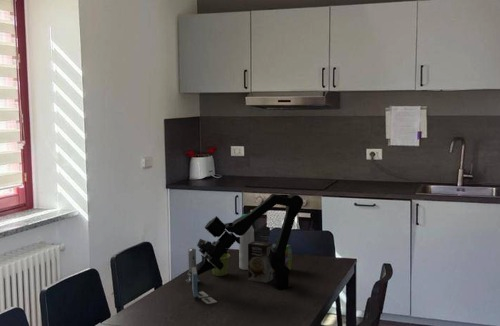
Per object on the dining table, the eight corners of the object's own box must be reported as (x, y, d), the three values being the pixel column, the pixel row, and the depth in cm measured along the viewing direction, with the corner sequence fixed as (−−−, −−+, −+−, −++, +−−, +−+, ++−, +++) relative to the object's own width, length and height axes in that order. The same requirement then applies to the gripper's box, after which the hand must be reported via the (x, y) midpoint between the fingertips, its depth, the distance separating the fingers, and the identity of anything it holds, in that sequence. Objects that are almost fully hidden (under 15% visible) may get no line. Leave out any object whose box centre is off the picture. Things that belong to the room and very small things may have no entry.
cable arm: (191, 281, 265) (190, 259, 264) (194, 280, 265) (194, 259, 264) (193, 297, 243) (193, 274, 242) (197, 297, 243) (197, 274, 242)
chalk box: (285, 274, 276) (285, 241, 274) (266, 272, 280) (265, 240, 278) (292, 269, 284) (292, 237, 283) (274, 267, 288) (273, 235, 287)
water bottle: (252, 270, 283) (252, 216, 280) (237, 269, 284) (236, 215, 281) (255, 266, 290) (255, 213, 287) (241, 265, 291) (240, 213, 288)
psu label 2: (216, 302, 240) (216, 301, 240) (207, 304, 238) (207, 302, 238) (210, 297, 245) (210, 296, 245) (201, 299, 243) (201, 298, 243)
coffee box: (247, 280, 268) (247, 243, 266) (254, 276, 274) (254, 240, 272) (266, 283, 264) (266, 245, 262) (273, 279, 269) (272, 242, 268)
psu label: (208, 296, 247) (208, 295, 247) (199, 298, 245) (199, 296, 245) (202, 292, 252) (202, 291, 252) (193, 293, 251) (193, 292, 250)
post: (200, 282, 266) (199, 250, 265) (189, 283, 264) (188, 251, 263) (196, 279, 271) (195, 247, 269) (185, 280, 268) (184, 248, 267)
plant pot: (231, 271, 282) (231, 252, 281) (228, 277, 272) (228, 258, 271) (211, 271, 283) (210, 252, 282) (207, 277, 273) (207, 258, 272)
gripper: (203, 227, 260) (177, 255, 257) (215, 237, 242) (188, 267, 240) (221, 244, 263) (196, 272, 261) (234, 255, 245) (208, 285, 243)
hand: (196, 274), depth 251 cm, fingers closed
